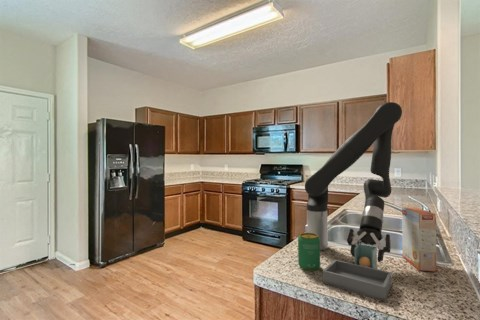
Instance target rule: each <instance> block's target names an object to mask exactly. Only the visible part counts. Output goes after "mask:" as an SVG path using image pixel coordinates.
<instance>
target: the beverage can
mask: <svg viewBox="0 0 480 320" xmlns="http://www.w3.org/2000/svg"><path fill="white" fill-rule="evenodd" d="M297 253H298V254H297V255H298V256H297V258H298V266H299V268H300V269H301V268H302V270H303V269H304V270H303V271H307V270H308V271H307V272H314V271H315V270H316V271H319V269H320V267H321V250H320V239H319V237H318V235H317V234H314V233H305V232H302V233H299V236H298V238H297Z"/></svg>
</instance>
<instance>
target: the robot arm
mask: <svg viewBox="0 0 480 320" xmlns="http://www.w3.org/2000/svg"><path fill="white" fill-rule="evenodd" d="M402 115H403V109H402V107H401V105H400V104H398V103H397V102H392V101H391V102H390V101H387V102H384V103H382V104H380V105H379V106H378V107H377V108H376V109H375V111H374V113H373V115H371V117H370V118H369V119H368V120H367V122H366V123H365V124H364V125H363V126H362V127H360V128H359V129H358V130H357V131H355V132H354V133H353V134H351V135H350V136H349V137H348V138H347V139H346V140H345V141H344V142H343V143H342V144H341V145H340V146H339V147H338V148H337V149H336V150H335V151H333V154H332V155H331V156H330V157H329V158H328V160H326V161H325V163H324V164H323V166H321V168H319V169H318V170H317V171H316V172H314V173H313V174H312V175H311V176H310V177H308V178H307V179H306V181H305V183H304V190H305V193H306V194H307V195H308V197H307V202H306V225H304V226H305V227H304V229H305V232H304V233H314V234H317V235H318V237H319V239H320V251H324V250H327V249H328V248H329V242H328V241H329V236H328V235H329V231H328V226H329V225H328V204H329V185H330V184H331V183H332V182H333V181H334V180H335V179H336V178H337V177H338V176H339V175H340V174H342V173H344V172H345V171H347V170H348V169H349V168H350V167H352V166H353V165H354V164H355V163H356V162H357V161H358V160H359V159H360V158H361V157H362V156H363V155H365V153H366V152H367V151H368V150H369V148H371V146H373V149H372V150H373V151H372V155H371V162H370V163H371V164H370V173H371V174H372V175H375V176H379V177H380V178H382V180H380V179H372V178H370V179H369V178H368V179H367V180H365V181H364V183H363V192H364V197H365V199H364V200H365V201H364V206H363V210H362V213H361V214H362V215H361V218H360V223H359V224H360V225H359V229H358V230H354V229H353V228H350V229H349V231H348V235H347V239H346V242H347V244H348V246H350V251H349V253H350V254H351V257H353V258H355V247H356V246H357V245H358V244H362V245H369V246H375V247H377V249H378V251H377V263H381V262H383V260H384V255H385V253H388V254H389V253H391V243H392V242H391V240H392V239H391V235H390V234H388V233H386V234H382V230H383V224H384V210H385V200H384V199H383V198H389V197H390V196H391V194H392V186H391V185H392V184H391V180H390V169H391V168H390V167H391V162H392V160H391V159H392V137H393V136H392V135H393V130H394V127H395V124H396V123H398V122H399V121H400V119H401V117H402ZM354 237H355V239H354ZM382 239H383V241H384V242H385V246H383V245H382V243H381V240H382Z"/></svg>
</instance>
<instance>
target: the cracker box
mask: <svg viewBox="0 0 480 320" xmlns="http://www.w3.org/2000/svg"><path fill="white" fill-rule="evenodd" d="M401 208H402V209H401V215H402V216H401V218H402V219H401V220H402V222H401V223H402V224H401V225H402V226H401V227H402V231H401V232H402V257H403V258H404V259H405V260H406V261H407V262H409V263H410V264H411V265H412V266H413V267H415V268H416V269H417V270H418V271H421V272H423V271H424V272H434V273H437V222H436V221H437V216H436V215H437V214H436V213H433V212H430V211H428V210H426V209H423V208H419V207H416V206H415V207H414V206H403V207H401Z"/></svg>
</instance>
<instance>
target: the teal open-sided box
mask: <svg viewBox="0 0 480 320" xmlns="http://www.w3.org/2000/svg"><path fill="white" fill-rule="evenodd" d="M377 249H378V248H377V246H374V245H368V244H363V243H362V244H358V245H357V246H356V247H355V257H354V264H357V265H360V264H359V259H360V258H361V257H367V258H369V259H370V261H371V267H370V268H374V269H378V260H377V258H378V251H377Z"/></svg>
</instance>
